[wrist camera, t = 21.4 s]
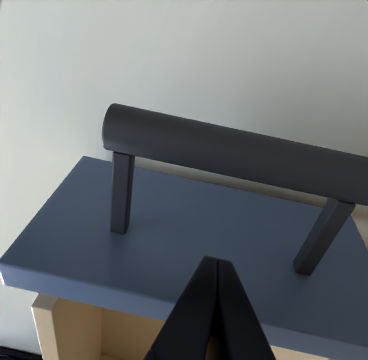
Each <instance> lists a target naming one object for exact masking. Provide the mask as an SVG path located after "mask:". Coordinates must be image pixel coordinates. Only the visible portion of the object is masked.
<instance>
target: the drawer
mask: <svg viewBox="0 0 368 360" xmlns="http://www.w3.org/2000/svg"><path fill="white" fill-rule="evenodd" d="M102 144H103V147H104V148H105V149H106V150H111V151H114V152H113V156H112V162H110V161H105V160H101V159H96V158H91V157H87V156H83V157H82V158H81V159H80V161H79V162H78V163H77V164H76V166H75V167H74V168H73V169H72V171H71V172H70V173H69V174H68V175H67V177H66V178H65V179H64V180H63V182H62V183H61V184H60V185H59V187H58V188H57V189H56V190H55V192H54V193H53V194H52V195H51V197H50V198H49V199H48V200H47V201H46V203H45V204H44V205H43V206H42V208H41V209H40V210H39V211H38V213H37V214H36V215H35V216H34V218H33V219H32V220H31V221H30V223H29V224H28V225H27V226H26V228H25V229H24V230H23V231H22V232H21V234H20V235H19V236H18V237H17V239H16V240H15V241H14V242H13V244H12V245H11V246H10V247H9V249H8V250H7V251H6V252H5V254H4V255H3V256H2V257H1V258H0V275H1V278H2V282H3V284H4V285H7V286H11V287H15V288H20V289H24V290H29V291H33V292H38V293H39V295H38V296H37V298H36V300H35V301H34V303H33V304H32V306H31V308H32V312H33V317H34V321H35V326H36V330H37V335H38V339H39V344H40V348H41V353H42V357H43V360H143V359H144V357H145V355H146V354H147V352H148V350H150V347H151V345H152V344H153V342H154V340H155V339H156V337H157V335H158V333H159V332H160V330H161V328H162V327H163V325H164V323H165V321H166V320H167V318H168V316H169V315H170V313H171V311H172V309H173V308H174V306H175V304H176V303H177V301H178V299H179V297H180V296H181V294H182V292H183V291H184V289H185V287H186V285H187V284H188V282H189V280H190V279H191V277H192V275H193V274H194V272H195V270H196V268H197V267H198V265H199V263H200V262H201V260H202V258H203V257H204V256H205V255H207V256H211V257H216V258H217V260H218V259H220V258H221V259H225V260H229V261H231V262H232V263H233V265H234V267H235V269H236V272H237V274H238V276H239V278H240V281H241V283H242V285H243V287H244V289H245V292H246V294H247V296H248V298H249V300H250V303H251V305H252V307H253V309H254V311H255V314H256V316H257V318H258V320H259V322H260V325H261V327H262V329H263V331H264V334H265V336H266V338H267V340H268V342H269V345H270V347H271V349H272V351H273V353H274V356H275V358H276V360H368V250H367V248H366V246H365V244H364V242H363V240H362V238H361V235H360V233H359V231H358V229H357V227H356V225H355V222H354V220H353V218H352V216H351V213H352V211H353V210H354V208H355V206H356V204H360V205H365V206H368V157H364V156H359V155H355V154H350V153H345V152H341V151H336V150H331V149H327V148H322V147H317V146H313V145H308V144H303V143H299V142H294V141H289V140H285V139H280V138H275V137H270V136H266V135H261V134H256V133H252V132H247V131H242V130H238V129H233V128H228V127H224V126H219V125H214V124H210V123H205V122H200V121H196V120H191V119H186V118H182V117H177V116H172V115H167V114H163V113H158V112H153V111H149V110H144V109H139V108H135V107H130V106H125V105H121V104H116V103H114V104H111V105H110V107H109V108H108V110H107V112H106V115H105V118H104V122H103V127H102ZM135 156H139V157H143V158H148V159H152V160H157V161H162V162H166V163H171V164H175V165H180V166H185V167H189V168H194V169H199V170H203V171H208V172H212V173H217V174H222V175H226V176H231V177H235V178H240V179H245V180H249V181H254V182H259V183H263V184H268V185H272V186H277V187H282V188H286V189H291V190H295V191H300V192H305V193H309V194H314V195H319V196H323V197H328V198H329V199H328V201H327V203H326V204H325V206H324V208H322V207H317V206H312V205H308V204H303V203H299V202H294V201H289V200H285V199H280V198H275V197H271V196H266V195H262V194H257V193H252V192H248V191H243V190H239V189H234V188H229V187H225V186H220V185H216V184H211V183H206V182H202V181H197V180H193V179H188V178H183V177H179V176H174V175H170V174H165V173H160V172H156V171H151V170H147V169H142V168H137V167H134V161H135ZM355 203H356V204H355Z"/></svg>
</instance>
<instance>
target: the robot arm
mask: <svg viewBox="0 0 368 360" xmlns="http://www.w3.org/2000/svg"><path fill="white" fill-rule="evenodd" d="M0 360H43V358H41V357H37V356H33V355H28V354H24V353H20V352H15V351H11V350H7V349H2V348H0ZM143 360H276V358H275V356H274V353H273V351H272V349H271V347H270V345H269V342H268V340H267V338H266V336H265V334H264V331H263V329H262V327H261V325H260V322H259V320H258V318H257V316H256V314H255V311H254V309H253V307H252V305H251V303H250V300H249V298H248V296H247V294H246V292H245V289H244V287H243V285H242V283H241V281H240V278H239V276H238V274H237V272H236V269H235V267H234V265H233V263H232V262H231V261H229V260H225V259H221V258H220V259H218V260H217V258H216V257H211V256H207V255H205V256H204V257H203V258H202V260H201V262H200V263H199V265H198V267H197V268H196V270H195V272H194V274H193V275H192V277H191V279H190V280H189V282H188V284H187V285H186V287H185V289H184V291H183V292H182V294H181V296H180V297H179V299H178V301H177V303H176V304H175V306H174V308H173V309H172V311H171V313H170V315H169V316H168V318H167V320H166V321H165V323H164V325H163V327H162V328H161V330H160V332H159V333H158V335H157V337H156V339H155V340H154V342H153V344H152V345H151V347H150V350H148V352H147V354H146V355H145V357H144V359H143Z"/></svg>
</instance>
